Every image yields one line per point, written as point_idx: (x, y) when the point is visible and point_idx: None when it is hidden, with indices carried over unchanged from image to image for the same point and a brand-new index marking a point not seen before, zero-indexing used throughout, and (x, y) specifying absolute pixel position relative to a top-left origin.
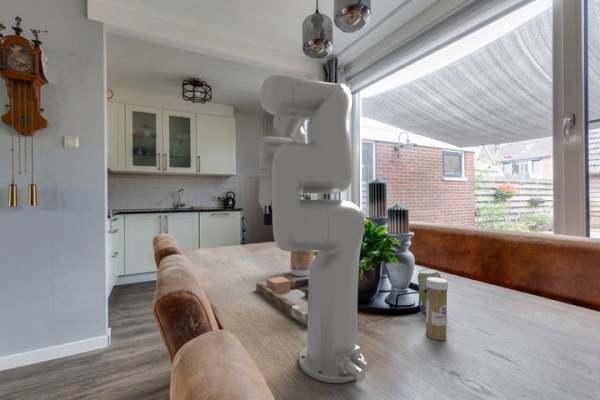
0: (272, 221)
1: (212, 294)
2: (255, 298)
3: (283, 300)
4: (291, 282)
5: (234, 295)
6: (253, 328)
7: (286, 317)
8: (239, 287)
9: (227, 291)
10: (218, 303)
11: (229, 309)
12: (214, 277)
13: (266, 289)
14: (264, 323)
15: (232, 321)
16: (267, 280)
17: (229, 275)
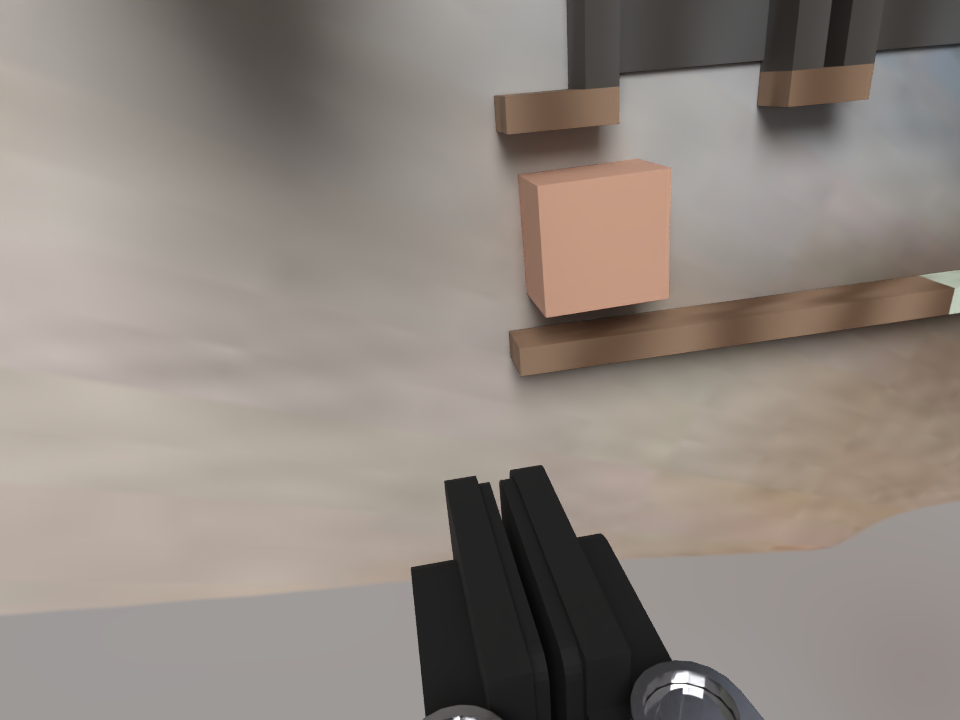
0: (561, 522)
1: None
2: (634, 391)
3: (866, 322)
4: (603, 124)
5: None
6: (901, 465)
7: (911, 326)
8: (410, 434)
9: None
10: None
11: (697, 517)
12: (114, 547)
13: (670, 352)
14: (895, 422)
15: (807, 519)
16: (556, 313)
17: (77, 453)
